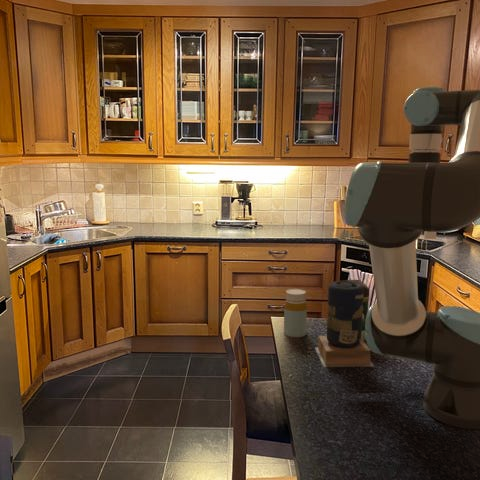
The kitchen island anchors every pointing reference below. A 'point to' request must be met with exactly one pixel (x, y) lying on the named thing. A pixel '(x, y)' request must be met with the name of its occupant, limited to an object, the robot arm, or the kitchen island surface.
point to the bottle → (295, 313)
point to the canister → (344, 313)
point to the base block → (343, 353)
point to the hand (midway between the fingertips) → (419, 234)
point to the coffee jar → (365, 306)
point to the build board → (339, 365)
